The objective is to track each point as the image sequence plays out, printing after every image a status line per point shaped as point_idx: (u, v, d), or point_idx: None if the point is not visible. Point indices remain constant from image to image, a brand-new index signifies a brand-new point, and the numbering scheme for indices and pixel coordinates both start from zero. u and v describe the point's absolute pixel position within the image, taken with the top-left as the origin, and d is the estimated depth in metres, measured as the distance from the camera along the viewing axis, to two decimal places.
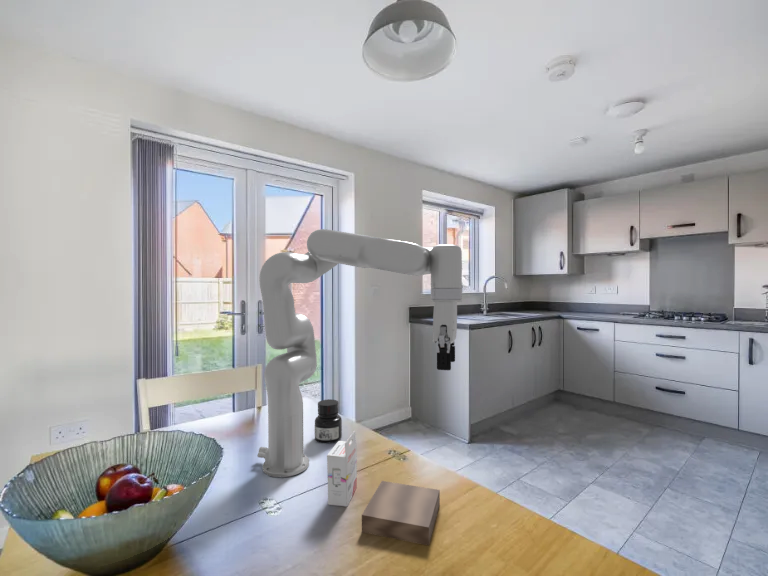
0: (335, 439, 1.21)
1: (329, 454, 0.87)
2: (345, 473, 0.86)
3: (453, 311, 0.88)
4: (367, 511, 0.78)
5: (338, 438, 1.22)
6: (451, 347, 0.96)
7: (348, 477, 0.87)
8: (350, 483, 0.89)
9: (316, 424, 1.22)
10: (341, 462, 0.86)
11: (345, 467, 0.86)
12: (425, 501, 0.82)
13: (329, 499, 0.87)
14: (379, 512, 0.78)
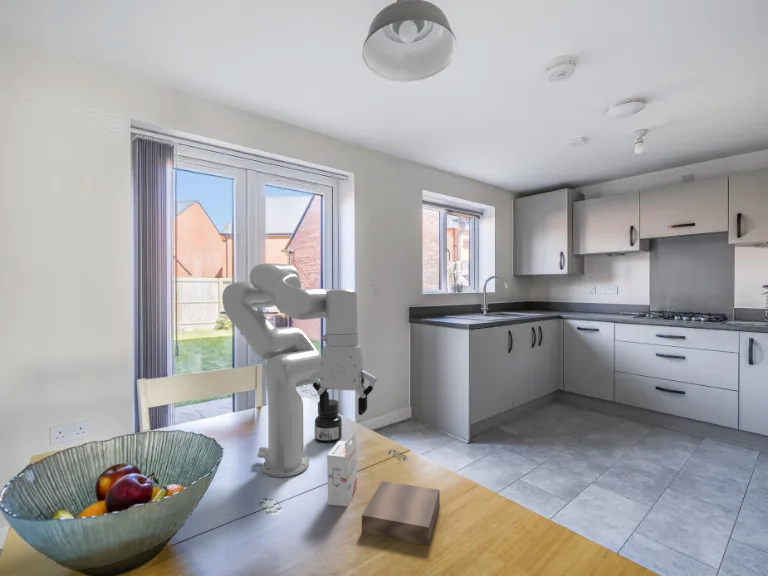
0: (335, 439, 1.21)
1: (329, 454, 0.87)
2: (345, 473, 0.86)
3: None
4: (367, 511, 0.78)
5: (338, 438, 1.22)
6: (327, 394, 0.92)
7: (348, 477, 0.87)
8: (350, 483, 0.89)
9: (316, 424, 1.22)
10: (341, 462, 0.86)
11: (345, 467, 0.86)
12: (425, 501, 0.82)
13: (329, 499, 0.87)
14: (379, 512, 0.78)
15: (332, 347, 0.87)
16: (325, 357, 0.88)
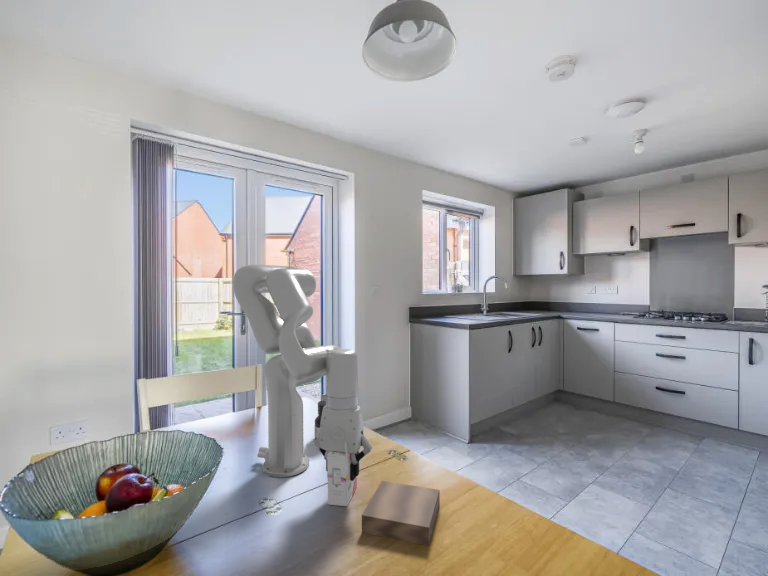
0: None
1: (329, 454, 0.87)
2: (345, 473, 0.86)
3: None
4: (367, 511, 0.78)
5: None
6: None
7: (347, 477, 0.87)
8: (350, 483, 0.89)
9: (316, 424, 1.22)
10: (341, 461, 0.86)
11: (345, 467, 0.86)
12: (425, 501, 0.82)
13: (329, 499, 0.87)
14: (379, 512, 0.78)
15: (332, 410, 0.87)
16: (325, 419, 0.89)
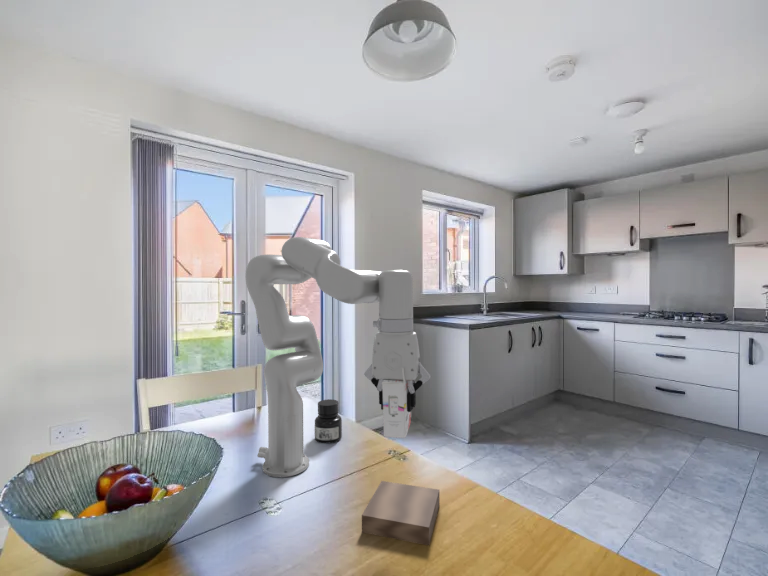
0: (335, 439, 1.21)
1: (384, 381, 0.79)
2: (403, 401, 0.78)
3: None
4: (367, 511, 0.78)
5: (338, 438, 1.22)
6: None
7: (405, 406, 0.79)
8: (407, 415, 0.81)
9: (316, 424, 1.22)
10: (398, 388, 0.78)
11: (403, 394, 0.78)
12: (425, 501, 0.82)
13: (385, 431, 0.79)
14: (379, 512, 0.78)
15: (387, 333, 0.79)
16: (378, 344, 0.81)
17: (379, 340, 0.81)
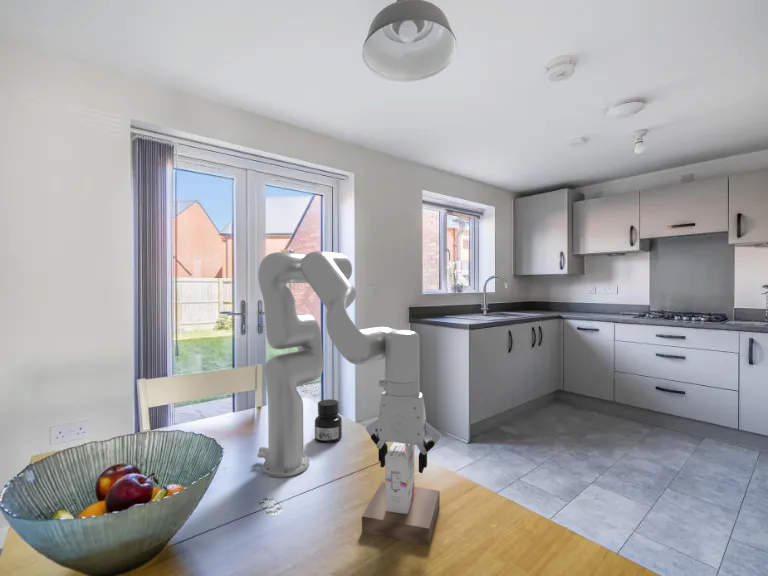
0: (335, 439, 1.21)
1: (387, 455, 0.79)
2: (405, 477, 0.78)
3: None
4: (367, 512, 0.78)
5: (338, 438, 1.22)
6: (386, 446, 0.84)
7: (408, 481, 0.78)
8: (410, 488, 0.80)
9: (316, 424, 1.22)
10: (401, 464, 0.78)
11: (405, 470, 0.78)
12: (425, 502, 0.82)
13: (387, 506, 0.79)
14: (379, 513, 0.78)
15: (394, 397, 0.79)
16: (384, 406, 0.80)
17: (385, 402, 0.80)
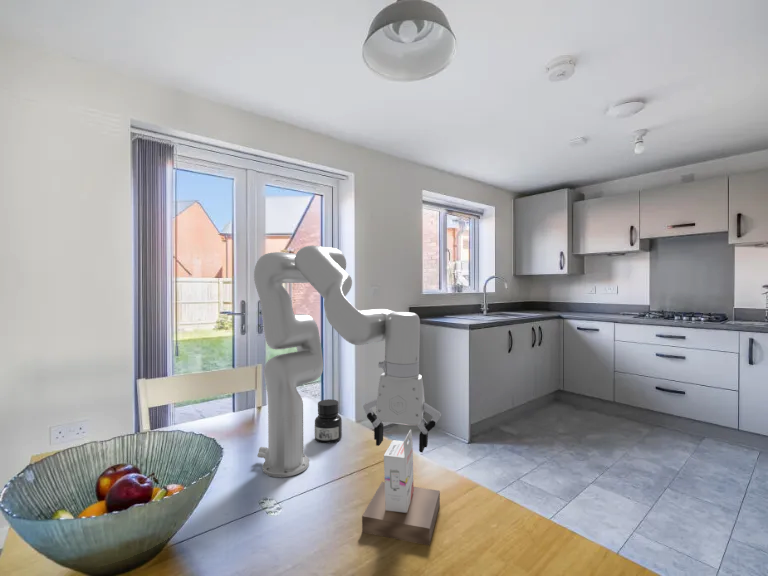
0: (335, 439, 1.21)
1: (386, 454, 0.79)
2: (404, 476, 0.78)
3: None
4: (367, 512, 0.78)
5: (338, 438, 1.22)
6: (382, 425, 0.84)
7: (407, 480, 0.79)
8: (409, 487, 0.80)
9: (316, 424, 1.22)
10: (400, 463, 0.78)
11: (404, 469, 0.78)
12: (425, 502, 0.82)
13: (387, 505, 0.79)
14: (380, 513, 0.78)
15: (393, 377, 0.79)
16: (384, 387, 0.80)
17: (384, 383, 0.80)
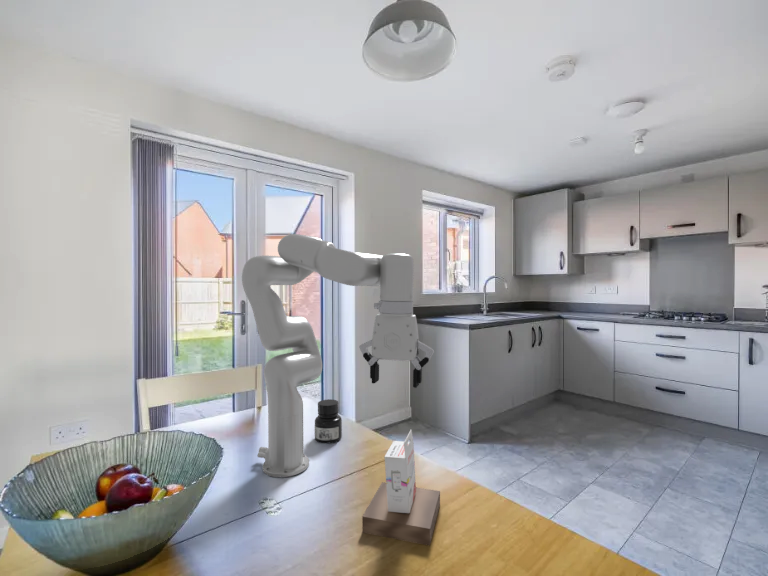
0: (335, 439, 1.21)
1: (387, 455, 0.79)
2: (406, 476, 0.78)
3: None
4: (368, 513, 0.78)
5: (338, 438, 1.22)
6: (377, 365, 0.87)
7: (408, 480, 0.78)
8: (411, 487, 0.80)
9: (316, 424, 1.22)
10: (401, 463, 0.78)
11: (405, 469, 0.78)
12: (425, 502, 0.82)
13: (389, 506, 0.79)
14: (380, 514, 0.78)
15: (387, 315, 0.81)
16: (379, 325, 0.83)
17: (379, 321, 0.83)
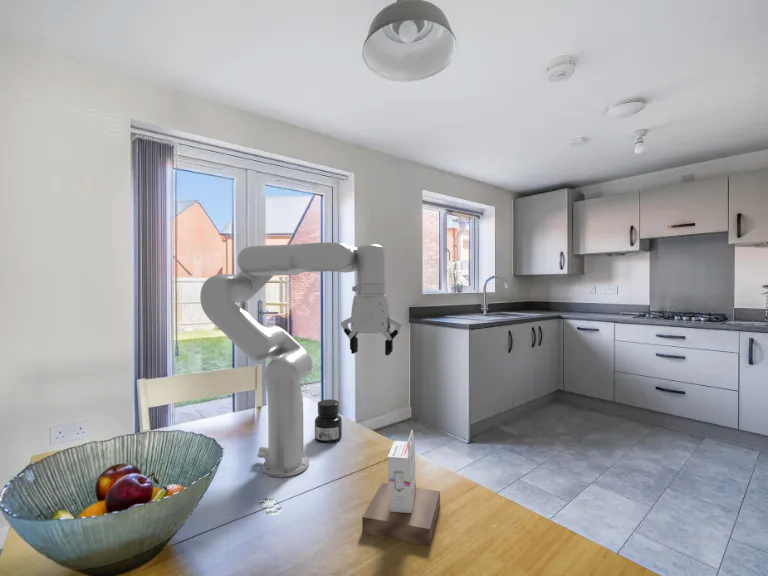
0: (335, 439, 1.21)
1: (389, 455, 0.79)
2: (409, 476, 0.78)
3: None
4: (368, 513, 0.78)
5: (338, 438, 1.22)
6: (356, 339, 1.04)
7: (411, 480, 0.79)
8: (413, 487, 0.80)
9: (316, 424, 1.22)
10: (404, 463, 0.78)
11: (408, 469, 0.78)
12: (425, 502, 0.82)
13: (391, 506, 0.79)
14: (380, 514, 0.78)
15: (363, 295, 0.98)
16: (356, 304, 1.00)
17: (356, 301, 1.00)
